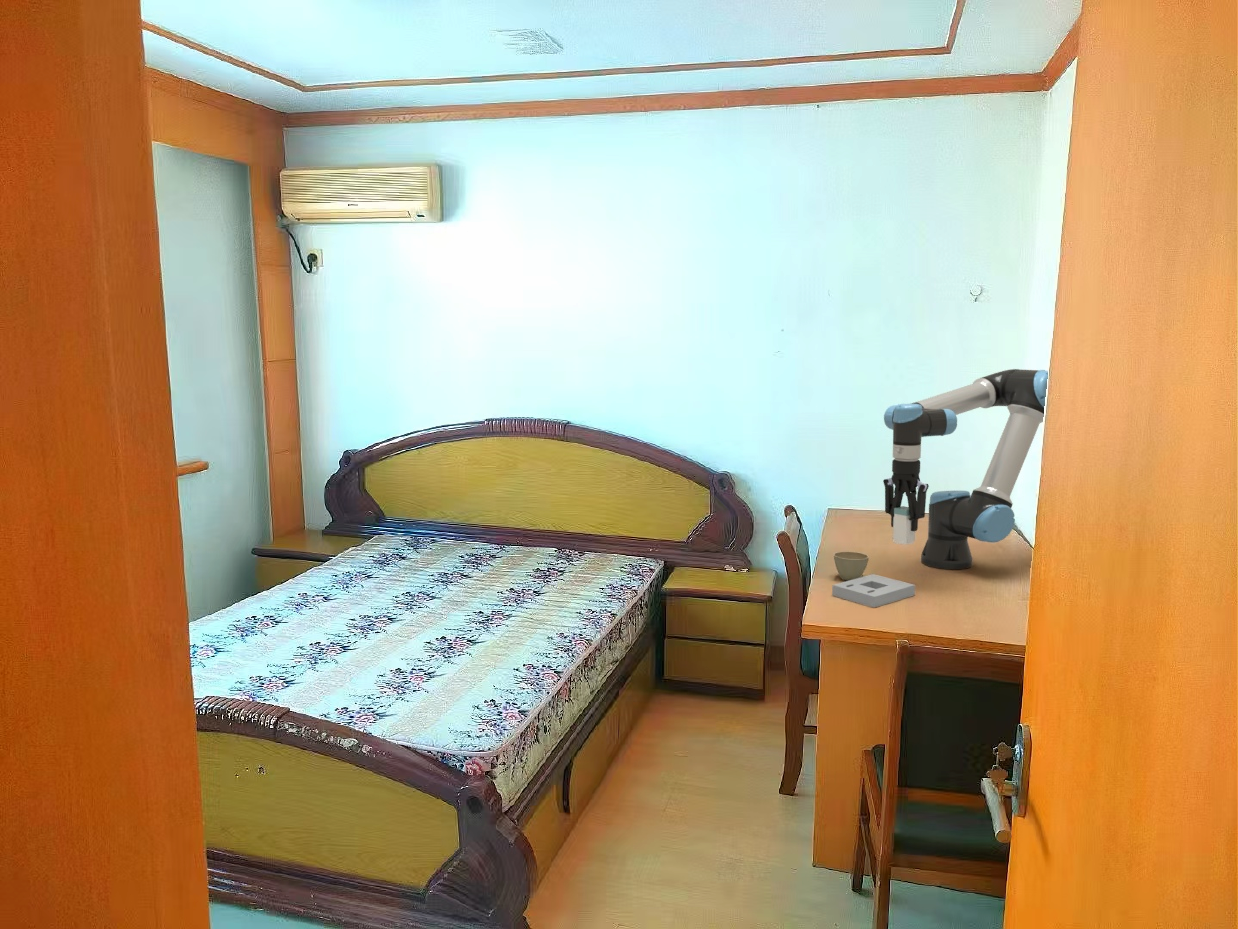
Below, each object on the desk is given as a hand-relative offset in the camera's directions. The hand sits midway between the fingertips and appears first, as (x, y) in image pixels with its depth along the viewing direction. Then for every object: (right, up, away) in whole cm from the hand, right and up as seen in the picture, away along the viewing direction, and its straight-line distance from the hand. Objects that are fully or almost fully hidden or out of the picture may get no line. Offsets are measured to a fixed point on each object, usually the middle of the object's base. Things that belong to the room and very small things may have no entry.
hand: (903, 540), depth 253 cm
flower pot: (-13, -12, +9) cm, 20 cm away
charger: (0, -1, 0) cm, 1 cm away
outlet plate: (-11, -15, -7) cm, 20 cm away
